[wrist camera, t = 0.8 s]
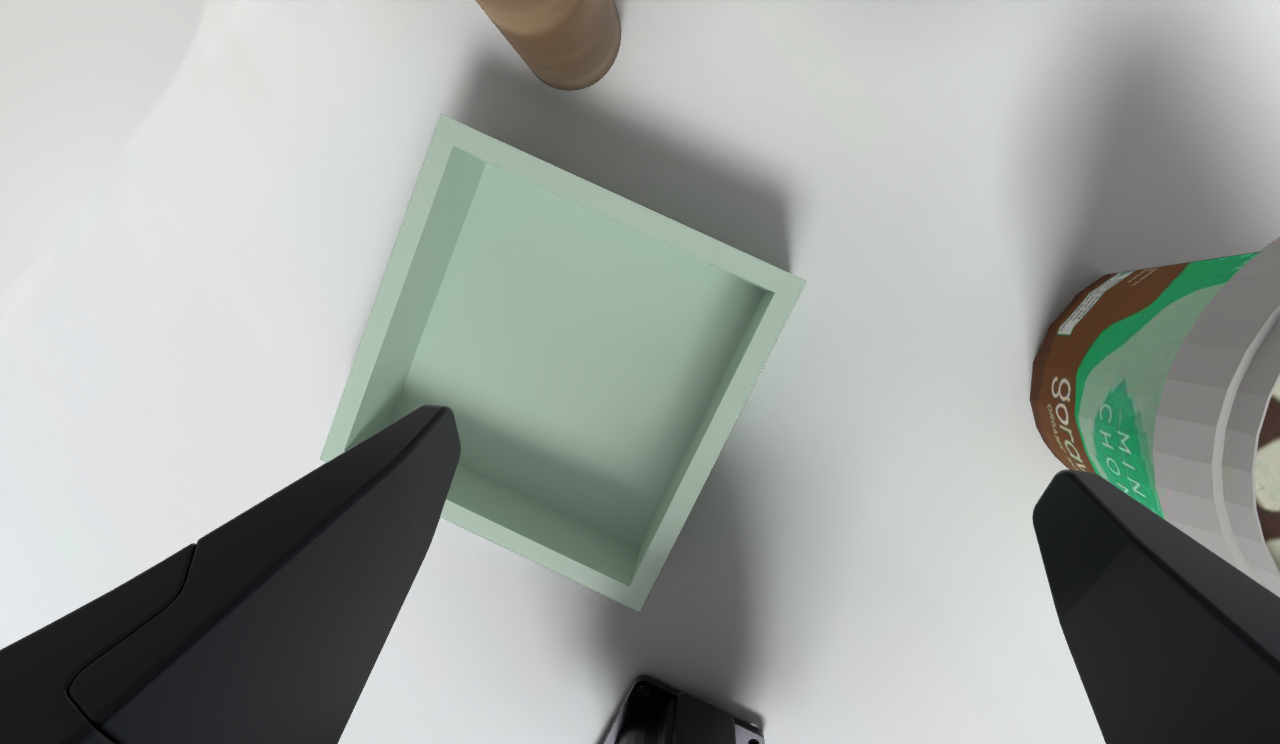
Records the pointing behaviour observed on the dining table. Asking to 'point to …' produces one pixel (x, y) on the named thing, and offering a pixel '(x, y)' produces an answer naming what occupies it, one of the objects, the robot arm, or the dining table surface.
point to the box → (563, 357)
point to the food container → (1176, 398)
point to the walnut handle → (560, 37)
